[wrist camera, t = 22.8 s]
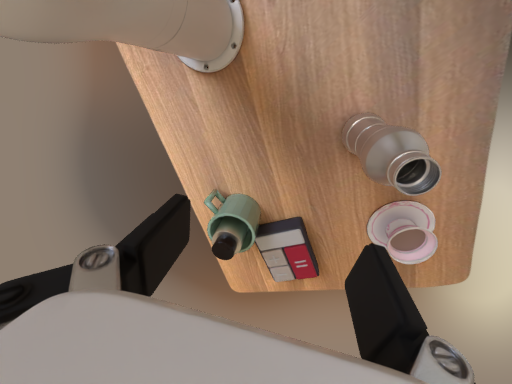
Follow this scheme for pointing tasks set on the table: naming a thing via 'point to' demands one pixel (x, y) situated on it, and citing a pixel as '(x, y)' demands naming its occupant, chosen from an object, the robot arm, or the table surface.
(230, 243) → the flask
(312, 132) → the table surface
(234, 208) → the mug
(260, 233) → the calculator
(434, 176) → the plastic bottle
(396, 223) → the teacup
